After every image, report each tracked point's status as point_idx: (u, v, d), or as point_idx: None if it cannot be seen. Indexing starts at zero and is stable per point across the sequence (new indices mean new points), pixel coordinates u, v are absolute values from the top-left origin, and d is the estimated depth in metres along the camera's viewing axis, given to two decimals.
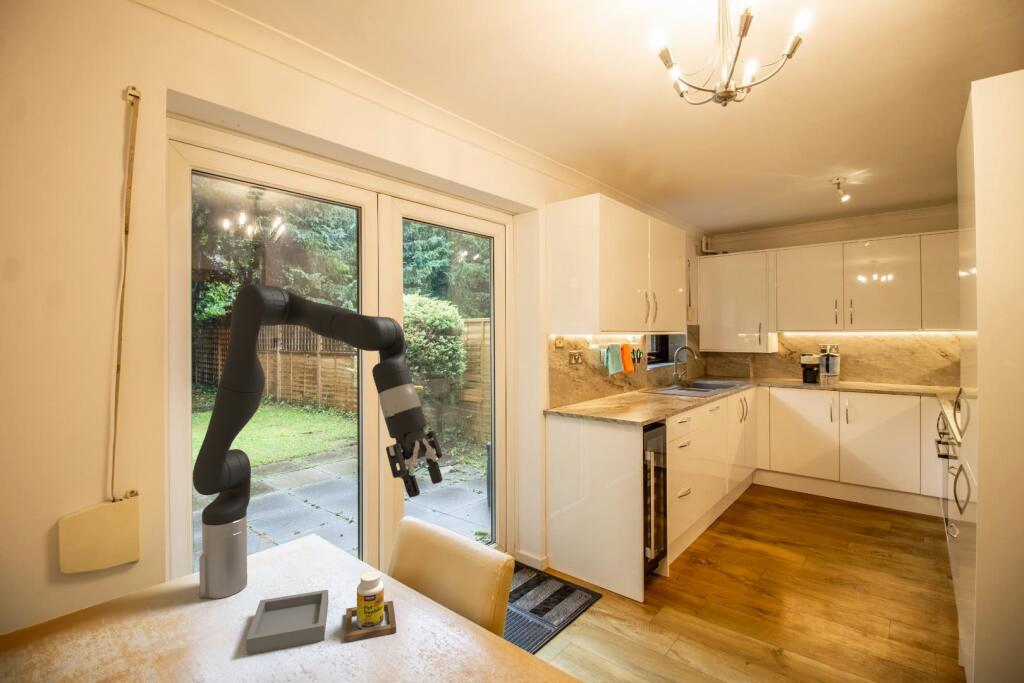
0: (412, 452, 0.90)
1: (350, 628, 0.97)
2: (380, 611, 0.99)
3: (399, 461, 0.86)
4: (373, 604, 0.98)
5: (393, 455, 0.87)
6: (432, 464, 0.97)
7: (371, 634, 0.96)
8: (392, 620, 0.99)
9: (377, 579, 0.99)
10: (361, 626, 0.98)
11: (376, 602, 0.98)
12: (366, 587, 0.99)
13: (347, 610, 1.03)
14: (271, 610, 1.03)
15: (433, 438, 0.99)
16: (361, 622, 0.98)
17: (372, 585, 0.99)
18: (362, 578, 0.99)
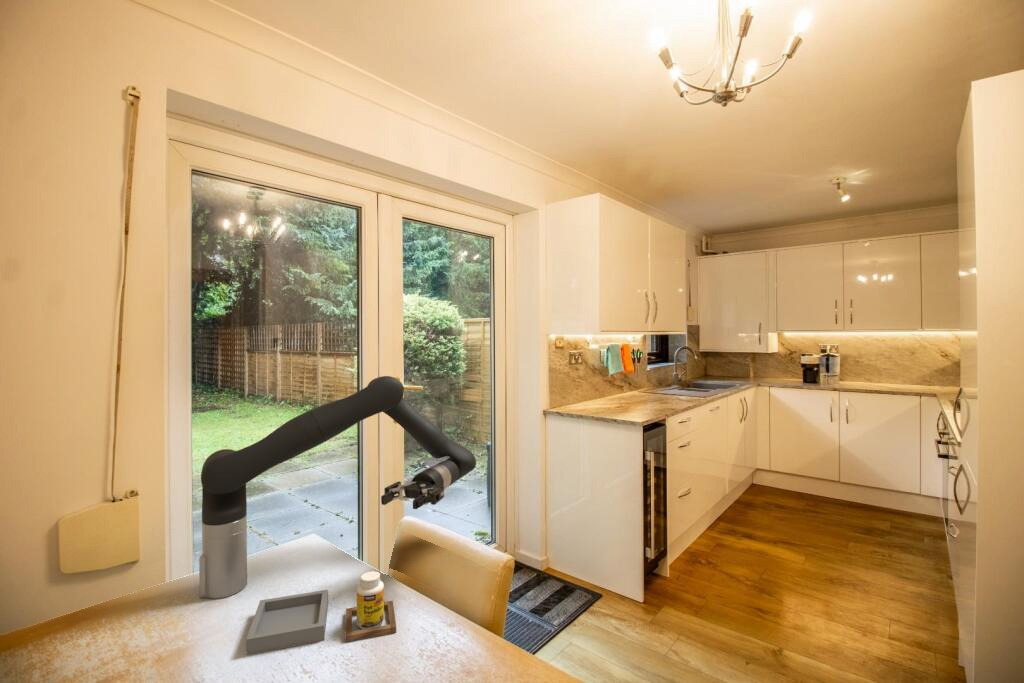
0: None
1: (350, 628, 0.97)
2: (380, 611, 0.99)
3: (439, 500, 1.15)
4: (373, 604, 0.98)
5: (441, 494, 1.16)
6: (392, 496, 1.15)
7: (371, 634, 0.96)
8: (392, 620, 0.99)
9: (377, 579, 0.99)
10: (361, 626, 0.98)
11: (376, 601, 0.98)
12: (366, 587, 0.99)
13: (347, 610, 1.03)
14: (271, 610, 1.03)
15: None
16: (361, 622, 0.98)
17: (372, 585, 0.99)
18: (362, 578, 0.99)
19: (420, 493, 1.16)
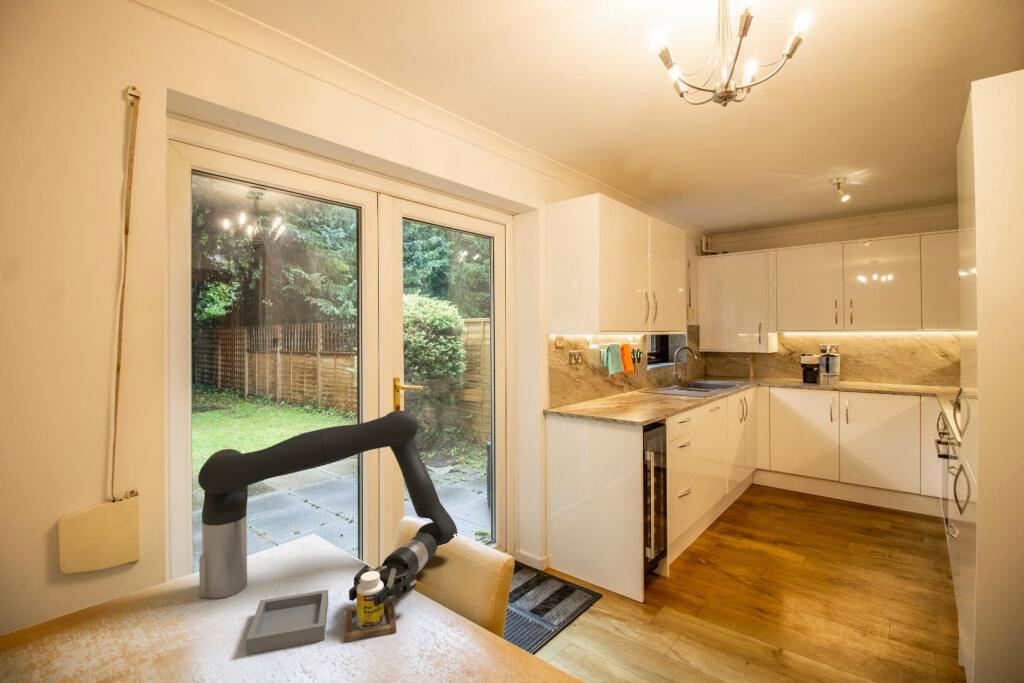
0: None
1: (350, 628, 0.97)
2: (380, 610, 0.99)
3: (406, 592, 1.03)
4: (373, 604, 0.98)
5: (410, 584, 1.04)
6: None
7: (371, 634, 0.96)
8: (392, 620, 0.99)
9: (376, 579, 0.99)
10: (361, 626, 0.98)
11: None
12: (366, 587, 0.99)
13: (347, 610, 1.03)
14: (271, 610, 1.03)
15: None
16: (361, 622, 0.98)
17: (371, 585, 0.99)
18: (362, 578, 0.99)
19: (388, 581, 1.04)
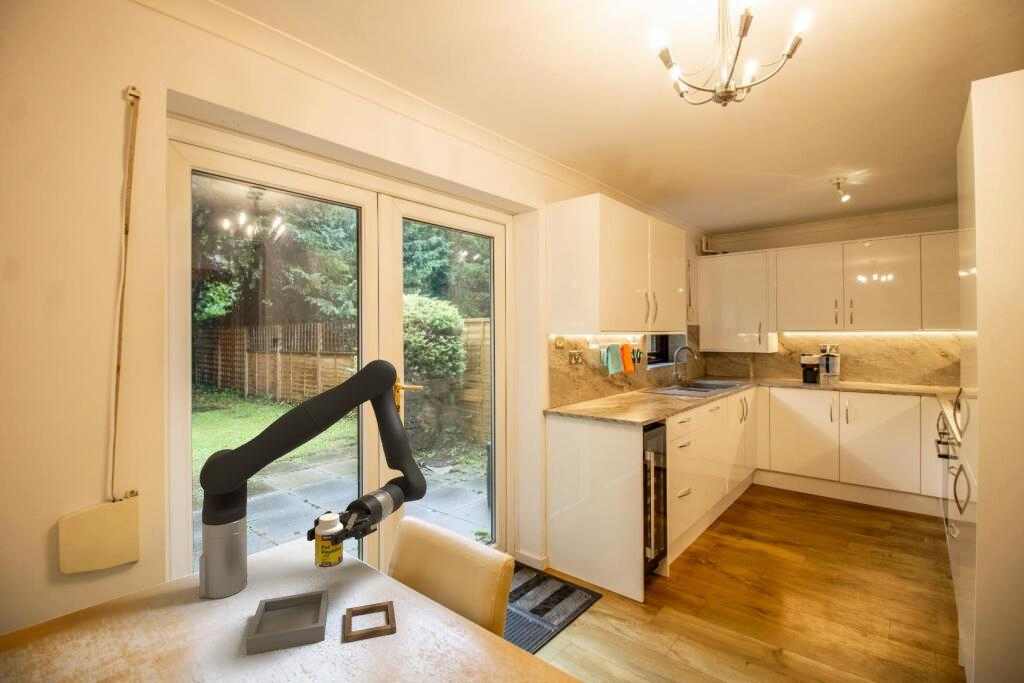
0: None
1: (350, 628, 0.97)
2: (339, 551, 0.98)
3: (366, 535, 1.01)
4: None
5: (371, 527, 1.03)
6: None
7: (371, 634, 0.96)
8: (392, 620, 0.99)
9: (335, 520, 0.98)
10: (319, 566, 0.97)
11: None
12: (324, 527, 0.98)
13: (347, 610, 1.03)
14: (271, 610, 1.03)
15: None
16: (318, 562, 0.97)
17: (329, 525, 0.98)
18: (320, 518, 0.98)
19: None
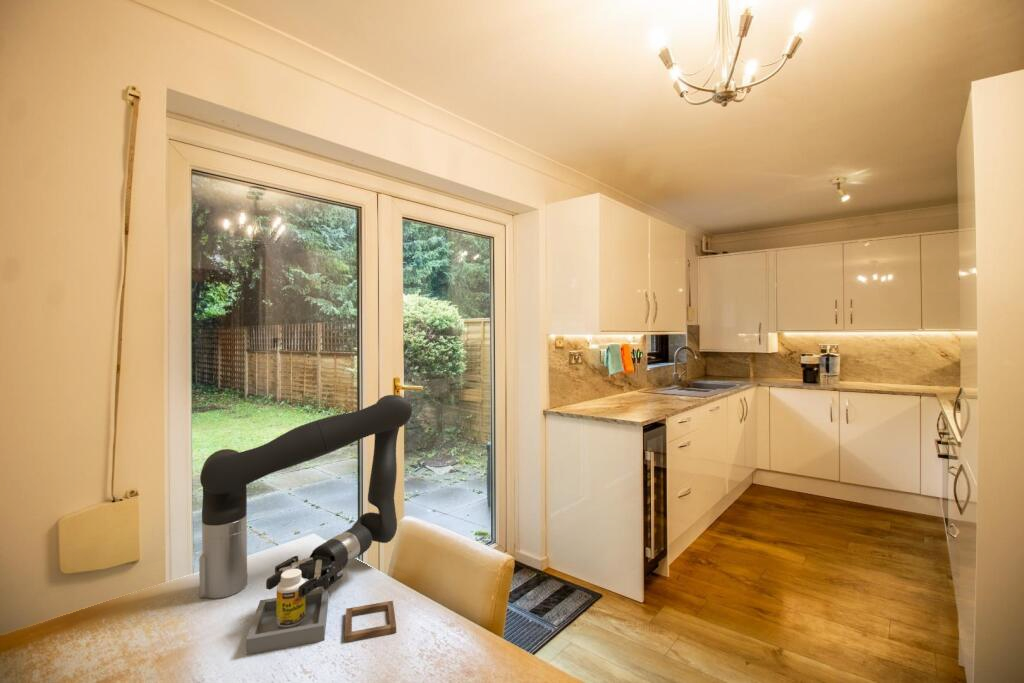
0: None
1: (350, 628, 0.97)
2: (300, 608, 0.98)
3: (334, 582, 1.02)
4: (292, 602, 0.97)
5: (337, 574, 1.03)
6: None
7: (371, 634, 0.96)
8: (392, 620, 0.99)
9: (297, 577, 0.98)
10: (280, 624, 0.97)
11: (296, 599, 0.97)
12: (285, 585, 0.98)
13: (347, 610, 1.03)
14: (271, 610, 1.03)
15: None
16: (279, 620, 0.97)
17: (291, 583, 0.98)
18: (282, 575, 0.98)
19: (314, 573, 1.03)
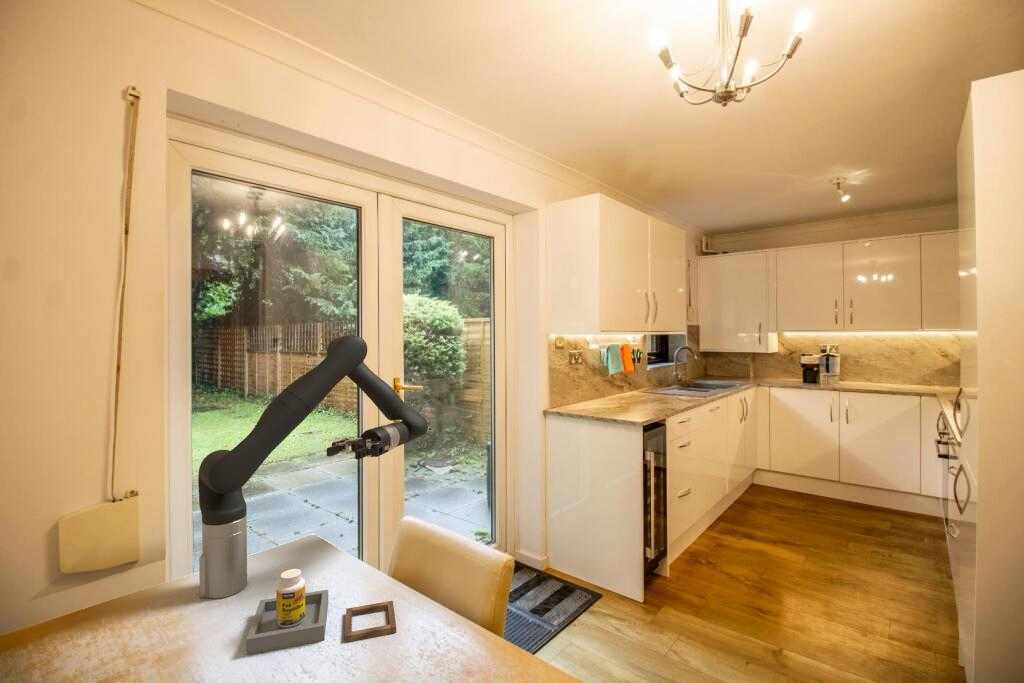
0: None
1: (350, 628, 0.97)
2: (300, 608, 0.98)
3: (382, 453, 1.21)
4: (292, 602, 0.97)
5: (385, 448, 1.22)
6: (338, 449, 1.22)
7: (371, 634, 0.96)
8: (392, 620, 0.99)
9: (296, 577, 0.98)
10: (280, 624, 0.97)
11: (295, 599, 0.97)
12: (285, 585, 0.98)
13: (347, 610, 1.03)
14: (271, 610, 1.03)
15: None
16: (279, 620, 0.97)
17: (291, 583, 0.98)
18: (282, 576, 0.98)
19: (365, 447, 1.22)
